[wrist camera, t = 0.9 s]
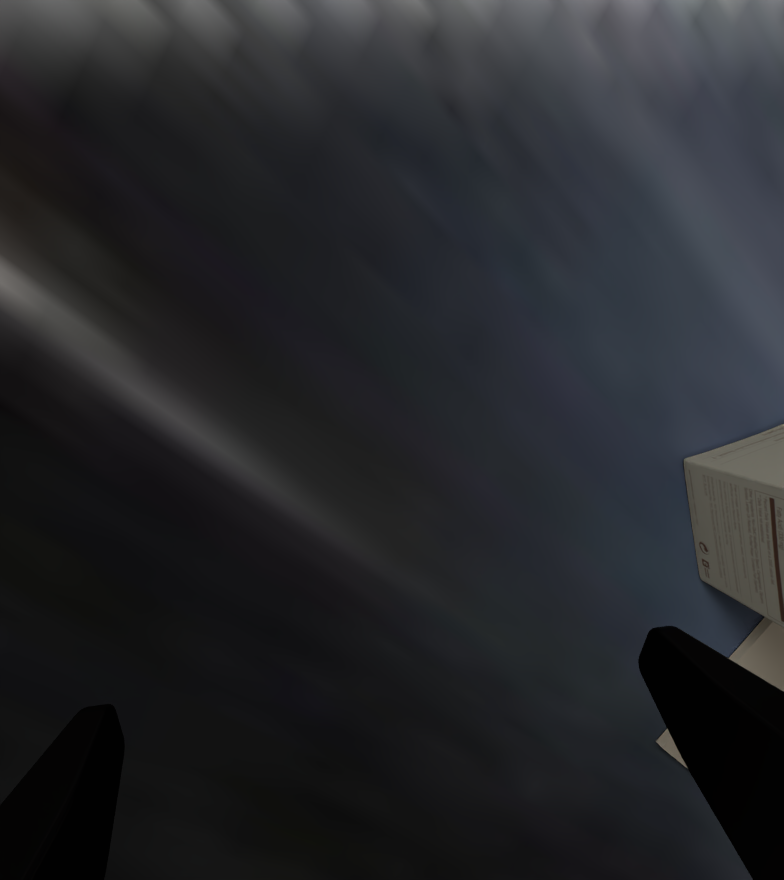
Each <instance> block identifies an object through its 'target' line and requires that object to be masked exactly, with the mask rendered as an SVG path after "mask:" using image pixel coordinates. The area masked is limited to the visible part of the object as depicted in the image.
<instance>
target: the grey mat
mask: <svg viewBox="0 0 784 880" xmlns="http://www.w3.org/2000/svg"><path fill="white" fill-rule="evenodd" d="M729 659H730V660H732V661H734V662H735V663H737V664H739V665H740V666H742V667H744V668H745V669H747V670H749V671H750V672H752V673H754V674H755V675H757V676H759V677H760V678H762V679H764V680H765V681H767V682H769V683H770V684H772V685H774V686H775V687H777V688H779V689H780V690H782V691H784V628H783V627H782V626H780V625H778V624H777V623H775V622H773V621H771V620H769V619H768V618H766V617H764V619H763V620H762V621H761V622H760V623H759V624H758V625H757V627H756V628H755V629H754V630H753V631H752V632H751V633H750V635H749V636H748V637H747V638H746V639H745V640H744V641H743V643H742V644H741V645H740V646H739V647H738V648H737V649H736V651H735V652H734V653H733V654H732V655H731V656H730V657H729ZM656 742H657V743H658V744H659V745H660V746H661V747H662V748H663V749H664V750H665V751H666V752H668V753H669V754H670V755H671V756H673V757H674V758H675V759H676V760H678V761H679V762H680V763H681V764H683V765H684V766H685V767H686V768H687V766H686V764H685V762H684V761H683V759H682V757H681V755H680V753H679V751H678V749H677V747H676V745H675V743H674V741H673V739H672V737H671V735H670V733H669V731H668V729H666V730H665V732H664V733H663V734H662V735H661V736H660V737H659V738H658V740H657V741H656Z"/></svg>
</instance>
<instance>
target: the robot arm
mask: <svg viewBox="0 0 784 880" xmlns="http://www.w3.org/2000/svg"><path fill="white" fill-rule="evenodd" d="M638 663H639V669H640V672H641V675H642V677H643V679H644V681H645V683H646V685H647V687H648V689H649V691H650V693H651V695H652V697H653V700H654V702H655V704H656V706H657V708H658V710H659V712H660V714H661V716H662V718H663V720H664V723H665V725H666V727H667V729H668V731H669V733H670V735H671V737H672V739H673V741H674V743H675V745H676V747H677V749H678V751H679V753H680V755H681V757H682V759H683V761H684V762H685V764H686V766H687V768H688V770H689V771H690V773H691V775H692V777H693V778H694V780H695V782H696V783H697V785H698V787H699V788H700V790H701V792H702V794H703V795H704V797H705V799H706V800H707V802H708V804H709V805H710V807H711V809H712V811H713V812H714V814H715V816H716V817H717V819H718V821H719V822H720V824H721V826H722V827H723V829H724V831H725V833H726V834H727V836H728V838H729V839H730V841H731V843H732V844H733V846H734V848H735V850H736V851H737V853H738V855H739V856H740V858H741V860H742V861H743V863H744V865H745V867H746V868H747V870H748V872H749V873H750V875H751V877H752V878H753V880H784V691H782V690H780V689H779V688H777V687H775V686H774V685H772V684H770V683H769V682H767V681H765V680H764V679H762V678H760V677H759V676H757V675H755V674H754V673H752V672H750V671H749V670H747V669H745V668H744V667H742V666H740V665H739V664H737V663H735V662H734V661H732V660H730V659H729V658H727V657H725V656H724V655H722V654H720V653H719V652H717V651H715V650H714V649H712V648H710V647H709V646H707V645H705V644H704V643H702V642H700V641H699V640H697V639H695V638H694V637H692V636H690V635H689V634H687V633H685V632H684V631H682V630H680V629H678V628H677V627H674V626H664V627H657V628H653V629H651V630H650V631H649V633H648V635H647V638H646V640H645V643H644V645H643V648H642V651H641V653H640V656H639V662H638ZM124 748H125V746H124V736H123V733H122V730H121V726H120V723H119V719H118V716H117V713H116V710H115V708H114V706H113V705H111V704H105V705H98V706H90V707H86V708H83V709H82V710H80V711H79V712H78V713H77V714H76V715H75V716H74V717H73V719H72V720H71V721H70V722H69V723H68V725H67V726H66V727H65V728H64V729H63V731H62V732H61V733H60V734H59V735H58V737H57V738H56V739H55V740H54V741H53V743H52V744H51V745H50V746H49V747H48V749H47V750H46V751H45V752H44V753H43V755H42V756H41V757H40V758H39V759H38V761H37V762H36V763H35V764H34V765H33V767H32V768H31V769H30V770H29V771H28V773H27V774H26V775H25V776H24V777H23V779H22V780H21V781H20V782H19V783H18V785H17V786H16V787H15V788H14V789H13V791H12V792H11V793H10V794H9V795H8V797H7V798H6V799H5V800H4V801H3V803H2V804H1V805H0V880H104V877H105V873H106V867H107V861H108V855H109V849H110V842H111V836H112V829H113V823H114V816H115V810H116V803H117V797H118V790H119V784H120V777H121V771H122V764H123V758H124Z"/></svg>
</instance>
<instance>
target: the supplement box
mask: <svg viewBox="0 0 784 880" xmlns="http://www.w3.org/2000/svg"><path fill="white" fill-rule="evenodd" d="M684 471H685V480H686V487H687V494H688V501H689V508H690V516H691V523H692V529H693V536H694V543H695V550H696V557H697V563H698V569H699V575H700V578H701V580H702V581H704V582H706V583H707V584H709V585H711V586H713V587H714V588H716V589H718V590H719V591H721V592H723V593H725V594H726V595H728V596H730V597H732V598H733V599H735V600H737V601H738V602H740V603H742V604H744V605H745V606H747V607H749V608H750V609H752V610H754V611H756V612H757V613H759V614H761V615H763V616H764V617H766V618H768V619H769V620H771V621H773V622H775V623H777V624H778V625H780V626H782V627H783V628H784V424H782V425H779V426H777V427H775V428H772V429H770V430H767V431H764V432H762V433H759V434H757V435H754V436H751V437H748V438H746V439H743V440H740V441H737V442H734V443H731V444H728V445H725V446H722V447H720V448H717V449H714V450H711V451H708V452H705V453H701V454H698V455H695V456H692V457H688V458H686V459H684Z"/></svg>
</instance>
